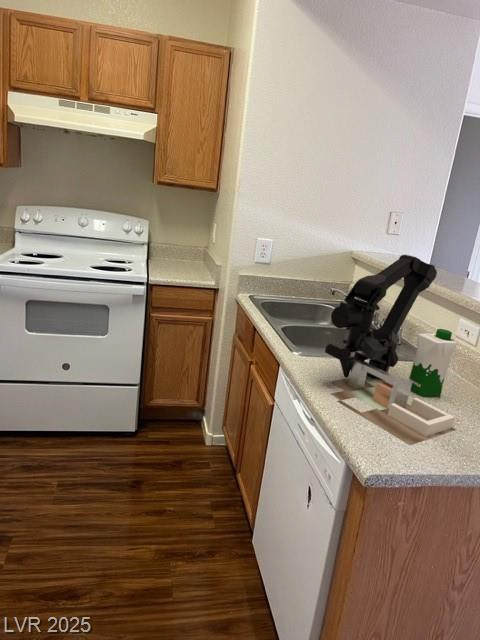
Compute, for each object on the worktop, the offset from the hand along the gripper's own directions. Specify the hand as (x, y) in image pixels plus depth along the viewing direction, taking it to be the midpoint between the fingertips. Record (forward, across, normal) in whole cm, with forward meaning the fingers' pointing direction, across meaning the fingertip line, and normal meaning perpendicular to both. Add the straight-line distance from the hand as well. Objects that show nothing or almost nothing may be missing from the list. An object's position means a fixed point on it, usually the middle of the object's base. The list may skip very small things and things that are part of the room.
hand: (349, 376), depth 137 cm
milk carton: (+4, +19, -12) cm, 23 cm away
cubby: (+2, 0, -24) cm, 24 cm away
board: (+3, -3, -14) cm, 15 cm away
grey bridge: (+2, 0, -10) cm, 10 cm away
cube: (+2, 0, -14) cm, 14 cm away
